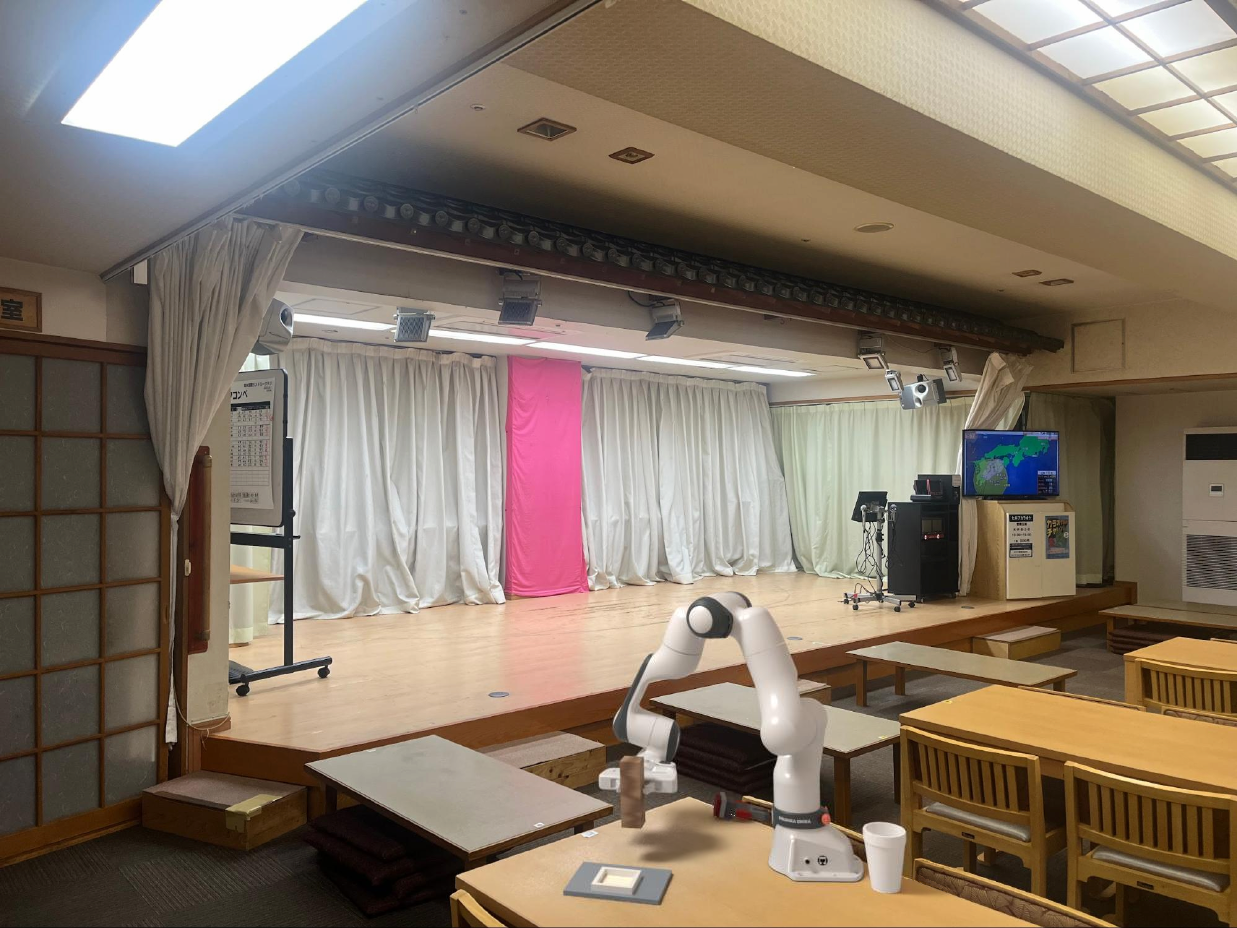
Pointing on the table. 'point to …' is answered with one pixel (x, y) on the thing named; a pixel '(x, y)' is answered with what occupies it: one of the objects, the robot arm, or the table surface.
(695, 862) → the table surface
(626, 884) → the socket
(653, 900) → the board
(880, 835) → the foam cup
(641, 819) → the pillar
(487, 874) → the table surface
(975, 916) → the table surface
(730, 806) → the toy
